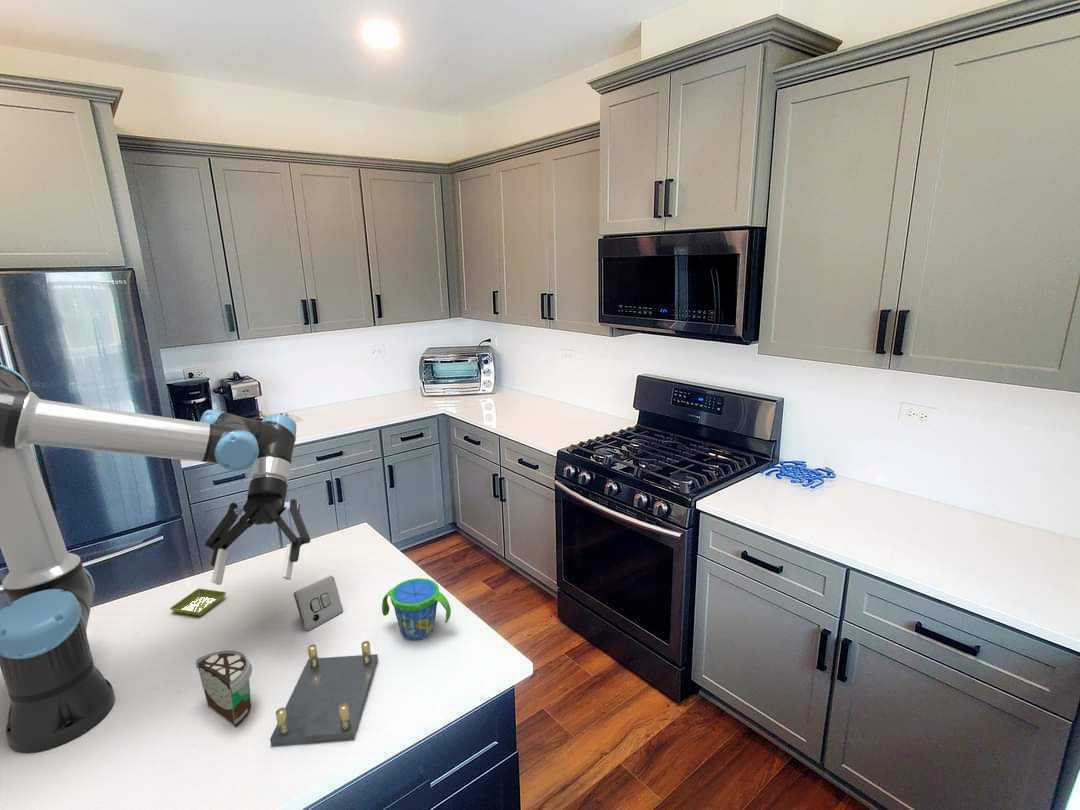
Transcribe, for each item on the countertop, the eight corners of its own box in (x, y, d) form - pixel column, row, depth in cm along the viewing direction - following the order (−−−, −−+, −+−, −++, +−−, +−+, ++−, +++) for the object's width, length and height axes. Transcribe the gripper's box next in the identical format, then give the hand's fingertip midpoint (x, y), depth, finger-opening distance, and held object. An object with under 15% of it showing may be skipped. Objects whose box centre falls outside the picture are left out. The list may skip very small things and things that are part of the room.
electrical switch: (307, 632, 125) (300, 595, 123) (295, 625, 128) (288, 589, 126) (344, 612, 132) (337, 576, 130) (332, 606, 135) (326, 571, 133)
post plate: (271, 746, 95) (266, 719, 94) (309, 664, 114) (306, 642, 113) (354, 739, 96) (350, 713, 95) (378, 660, 115) (375, 637, 114)
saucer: (170, 615, 132) (168, 608, 132) (199, 595, 141) (198, 587, 140) (200, 620, 130) (198, 612, 130) (228, 599, 139) (227, 592, 138)
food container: (272, 708, 103) (264, 662, 101) (240, 731, 98) (231, 683, 96) (235, 683, 110) (227, 639, 107) (203, 703, 105) (194, 658, 102)
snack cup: (459, 622, 127) (457, 583, 125) (438, 652, 117) (434, 610, 115) (400, 611, 132) (396, 573, 129) (374, 639, 122) (370, 598, 120)
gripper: (332, 484, 125) (321, 580, 115) (218, 491, 124) (196, 589, 113) (322, 471, 119) (309, 571, 108) (202, 478, 117) (176, 580, 106)
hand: (251, 580), depth 111 cm, fingers open, 13 cm apart
